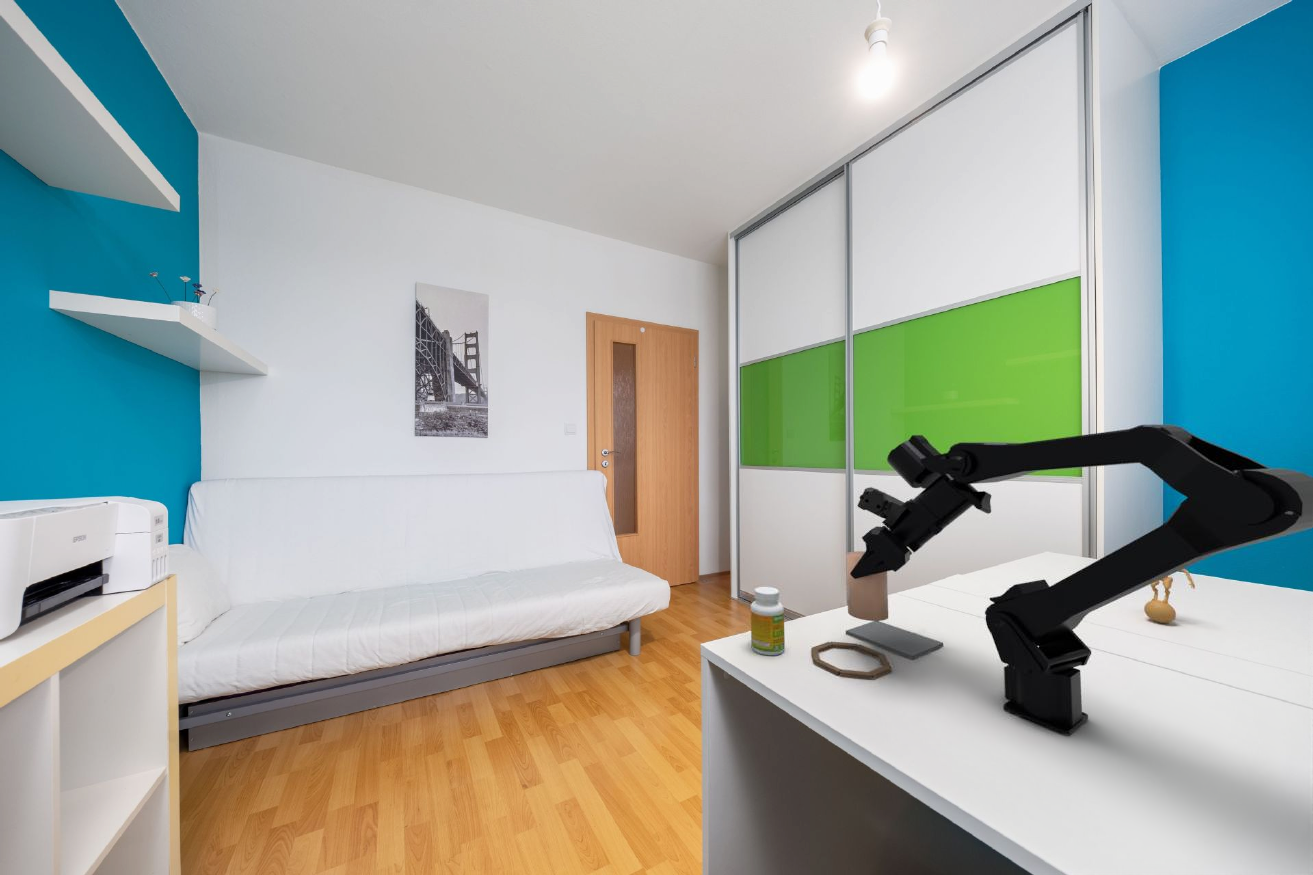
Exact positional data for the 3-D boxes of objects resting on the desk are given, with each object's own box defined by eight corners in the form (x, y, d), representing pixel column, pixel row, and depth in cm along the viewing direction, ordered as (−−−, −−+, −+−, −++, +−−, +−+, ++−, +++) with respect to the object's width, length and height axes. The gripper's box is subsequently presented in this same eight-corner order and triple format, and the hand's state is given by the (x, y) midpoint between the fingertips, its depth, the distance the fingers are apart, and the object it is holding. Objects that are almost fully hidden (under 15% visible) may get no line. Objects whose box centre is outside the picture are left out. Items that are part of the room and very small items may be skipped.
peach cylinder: (896, 615, 74) (894, 556, 74) (874, 623, 71) (872, 561, 71) (862, 605, 79) (860, 549, 79) (840, 612, 76) (838, 554, 76)
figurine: (1125, 617, 88) (1122, 554, 88) (1137, 611, 91) (1135, 550, 91) (1189, 632, 81) (1186, 563, 81) (1201, 625, 84) (1198, 559, 84)
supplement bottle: (776, 659, 73) (775, 597, 73) (745, 650, 76) (744, 591, 76) (789, 647, 77) (788, 588, 77) (759, 639, 80) (758, 583, 80)
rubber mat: (943, 646, 76) (943, 642, 76) (912, 659, 72) (912, 655, 72) (876, 623, 87) (876, 620, 87) (845, 633, 82) (845, 630, 82)
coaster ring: (904, 665, 70) (904, 661, 70) (858, 685, 64) (858, 681, 64) (842, 640, 79) (841, 637, 79) (797, 656, 73) (797, 652, 73)
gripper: (902, 468, 80) (838, 526, 87) (876, 474, 66) (802, 542, 72) (957, 517, 75) (885, 574, 82) (942, 535, 61) (856, 603, 67)
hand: (857, 571), depth 76 cm, fingers closed on peach cylinder, 6 cm apart
